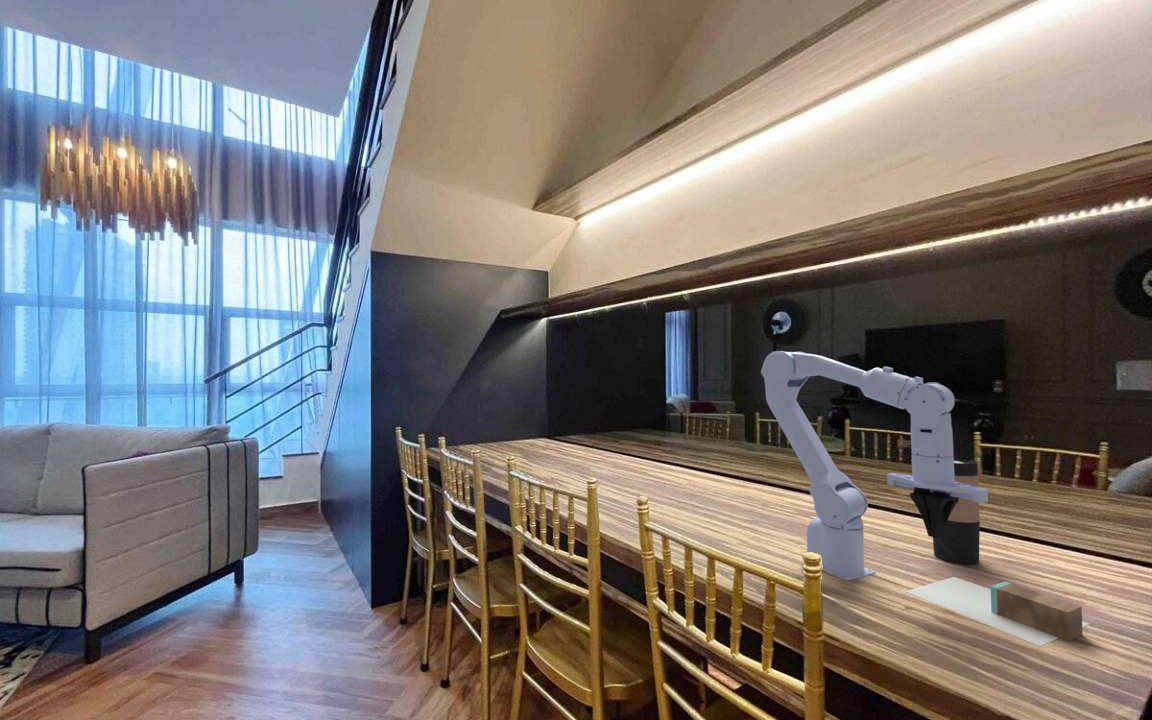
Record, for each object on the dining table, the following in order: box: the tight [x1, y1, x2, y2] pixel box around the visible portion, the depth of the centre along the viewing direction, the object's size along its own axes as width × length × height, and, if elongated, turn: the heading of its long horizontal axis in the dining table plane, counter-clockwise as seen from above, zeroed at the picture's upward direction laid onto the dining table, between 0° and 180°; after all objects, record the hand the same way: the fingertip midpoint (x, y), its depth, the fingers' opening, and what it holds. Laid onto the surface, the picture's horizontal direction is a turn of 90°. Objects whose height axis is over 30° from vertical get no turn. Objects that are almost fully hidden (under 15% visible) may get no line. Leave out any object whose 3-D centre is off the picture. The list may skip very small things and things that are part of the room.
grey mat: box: [904, 576, 1090, 647], centre depth 77 cm, size 18×14×1 cm
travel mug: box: [932, 457, 981, 566], centre depth 97 cm, size 8×8×20 cm
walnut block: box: [990, 581, 1084, 642], centre depth 72 cm, size 4×4×9 cm
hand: (935, 536), depth 81 cm, fingers closed
